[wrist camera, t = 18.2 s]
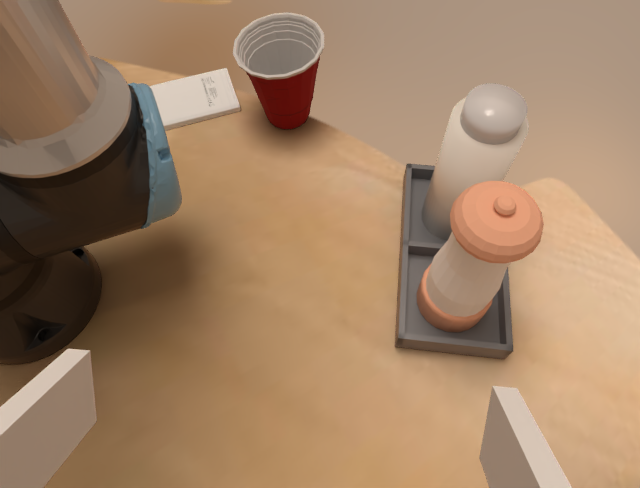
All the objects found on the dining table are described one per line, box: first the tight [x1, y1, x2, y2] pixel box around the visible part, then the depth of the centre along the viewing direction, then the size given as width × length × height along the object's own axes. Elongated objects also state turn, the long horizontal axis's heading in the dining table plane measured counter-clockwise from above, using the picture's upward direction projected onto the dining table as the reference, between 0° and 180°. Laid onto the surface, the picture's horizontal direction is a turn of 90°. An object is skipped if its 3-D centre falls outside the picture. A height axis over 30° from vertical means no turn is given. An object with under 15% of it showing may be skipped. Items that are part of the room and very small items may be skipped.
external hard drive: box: [149, 68, 241, 131], centre depth 68 cm, size 2×8×12 cm
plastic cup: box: [233, 13, 324, 129], centre depth 61 cm, size 11×11×12 cm
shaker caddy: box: [395, 164, 513, 359], centre depth 54 cm, size 11×22×3 cm, turn 173°
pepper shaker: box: [417, 181, 544, 332], centre depth 44 cm, size 7×7×19 cm
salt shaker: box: [421, 83, 529, 241], centre depth 49 cm, size 7×7×18 cm
